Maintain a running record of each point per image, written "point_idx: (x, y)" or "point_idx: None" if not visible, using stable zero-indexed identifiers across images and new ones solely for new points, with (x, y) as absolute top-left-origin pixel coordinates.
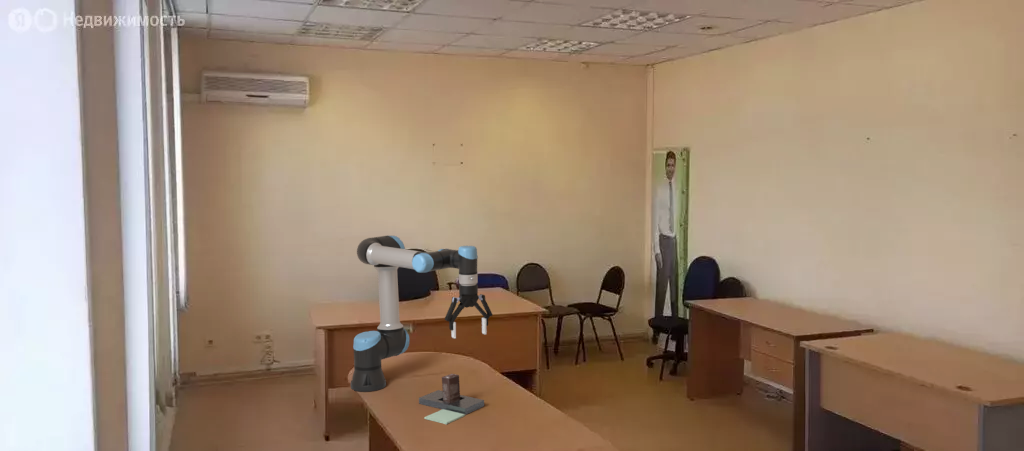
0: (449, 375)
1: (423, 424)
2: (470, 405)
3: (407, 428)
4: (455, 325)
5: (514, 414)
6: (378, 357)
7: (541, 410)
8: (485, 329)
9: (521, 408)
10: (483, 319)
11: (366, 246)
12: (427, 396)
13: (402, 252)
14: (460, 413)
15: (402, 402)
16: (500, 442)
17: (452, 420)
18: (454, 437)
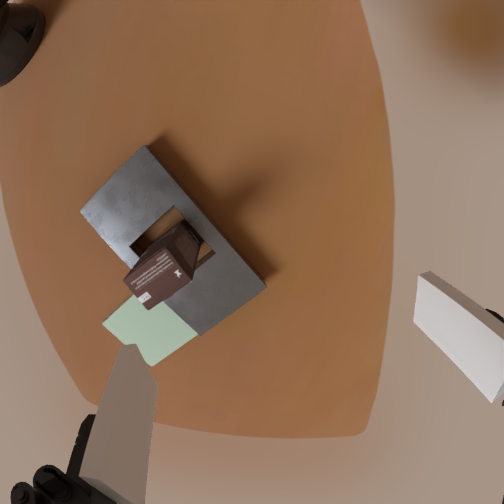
0: (152, 274)
1: (105, 349)
2: (218, 318)
3: (78, 357)
4: (144, 482)
5: (312, 344)
6: None
7: (371, 331)
8: (440, 341)
9: (342, 313)
10: (495, 377)
11: None
12: (103, 205)
13: None
14: (188, 326)
15: (50, 185)
16: (239, 435)
17: (165, 356)
18: (167, 412)
